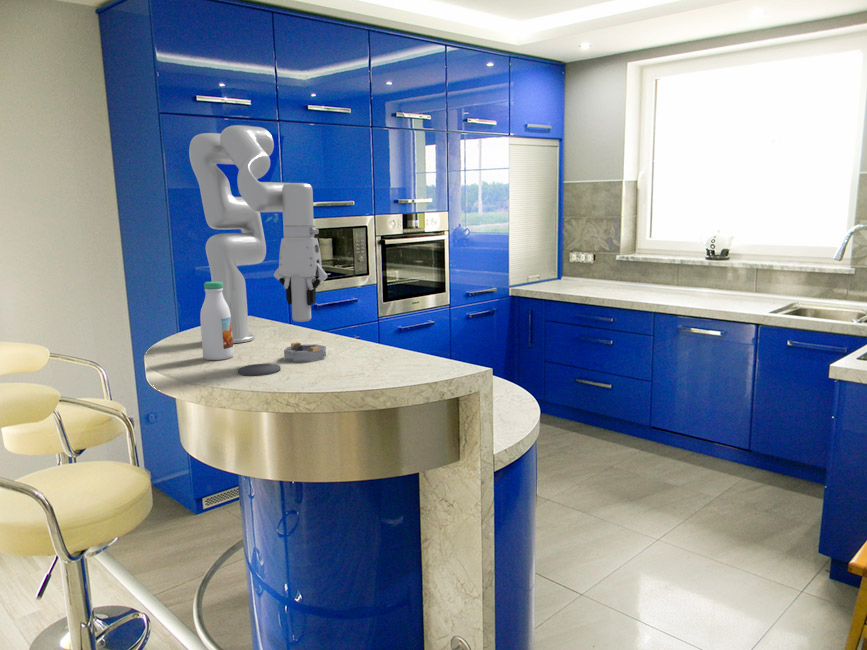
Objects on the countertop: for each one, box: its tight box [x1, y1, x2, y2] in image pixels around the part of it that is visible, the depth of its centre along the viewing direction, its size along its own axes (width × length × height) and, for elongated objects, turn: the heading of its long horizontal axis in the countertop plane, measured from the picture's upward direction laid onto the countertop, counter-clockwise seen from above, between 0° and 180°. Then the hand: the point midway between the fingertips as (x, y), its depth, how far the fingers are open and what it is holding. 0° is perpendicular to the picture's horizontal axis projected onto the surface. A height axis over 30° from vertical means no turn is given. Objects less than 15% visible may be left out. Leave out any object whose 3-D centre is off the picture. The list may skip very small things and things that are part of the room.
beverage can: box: [291, 275, 312, 323], centre depth 176 cm, size 5×5×12 cm
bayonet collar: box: [283, 342, 327, 363], centre depth 178 cm, size 10×10×3 cm
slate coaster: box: [236, 363, 281, 377], centre depth 164 cm, size 10×10×1 cm
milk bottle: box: [199, 281, 235, 361], centre depth 178 cm, size 8×8×20 cm
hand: (301, 303), depth 176 cm, fingers closed on beverage can, 4 cm apart
